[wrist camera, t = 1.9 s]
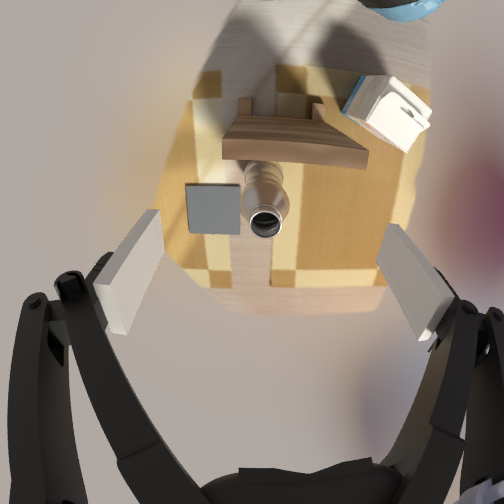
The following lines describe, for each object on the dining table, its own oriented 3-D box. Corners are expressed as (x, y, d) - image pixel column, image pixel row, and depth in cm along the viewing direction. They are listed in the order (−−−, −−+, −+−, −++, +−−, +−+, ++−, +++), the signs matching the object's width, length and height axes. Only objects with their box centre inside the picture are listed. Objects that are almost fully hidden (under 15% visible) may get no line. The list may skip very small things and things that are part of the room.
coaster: (186, 185, 49) (185, 186, 49) (240, 185, 49) (240, 186, 49) (190, 231, 55) (189, 233, 55) (239, 233, 55) (239, 234, 54)
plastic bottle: (270, 194, 50) (275, 258, 34) (237, 176, 48) (225, 233, 32) (289, 166, 47) (306, 217, 30) (256, 146, 45) (254, 187, 29)
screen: (239, 98, 40) (222, 107, 22) (323, 104, 40) (373, 121, 22) (238, 143, 45) (222, 188, 27) (319, 148, 45) (360, 197, 27)
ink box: (339, 112, 41) (367, 123, 30) (361, 74, 37) (396, 73, 25) (377, 137, 43) (413, 158, 32) (399, 102, 38) (440, 112, 27)
